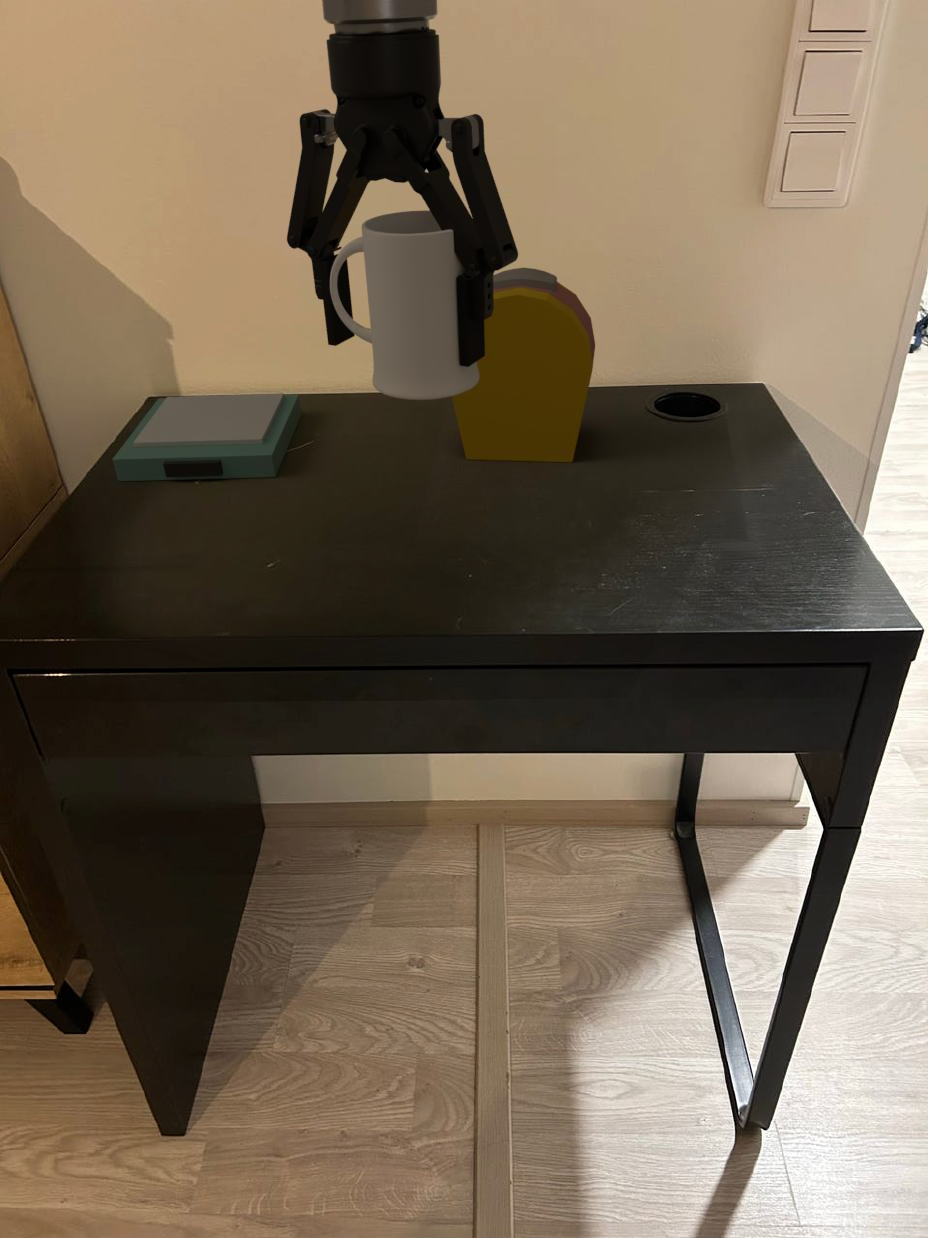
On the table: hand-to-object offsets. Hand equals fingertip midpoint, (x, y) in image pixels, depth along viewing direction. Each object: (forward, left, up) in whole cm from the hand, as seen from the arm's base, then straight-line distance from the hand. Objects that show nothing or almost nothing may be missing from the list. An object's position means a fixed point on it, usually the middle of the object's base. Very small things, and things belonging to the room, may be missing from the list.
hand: (404, 350), depth 76 cm
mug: (0, 0, -2) cm, 2 cm away
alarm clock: (-2, +26, -19) cm, 32 cm away
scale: (-34, +12, -19) cm, 41 cm away
